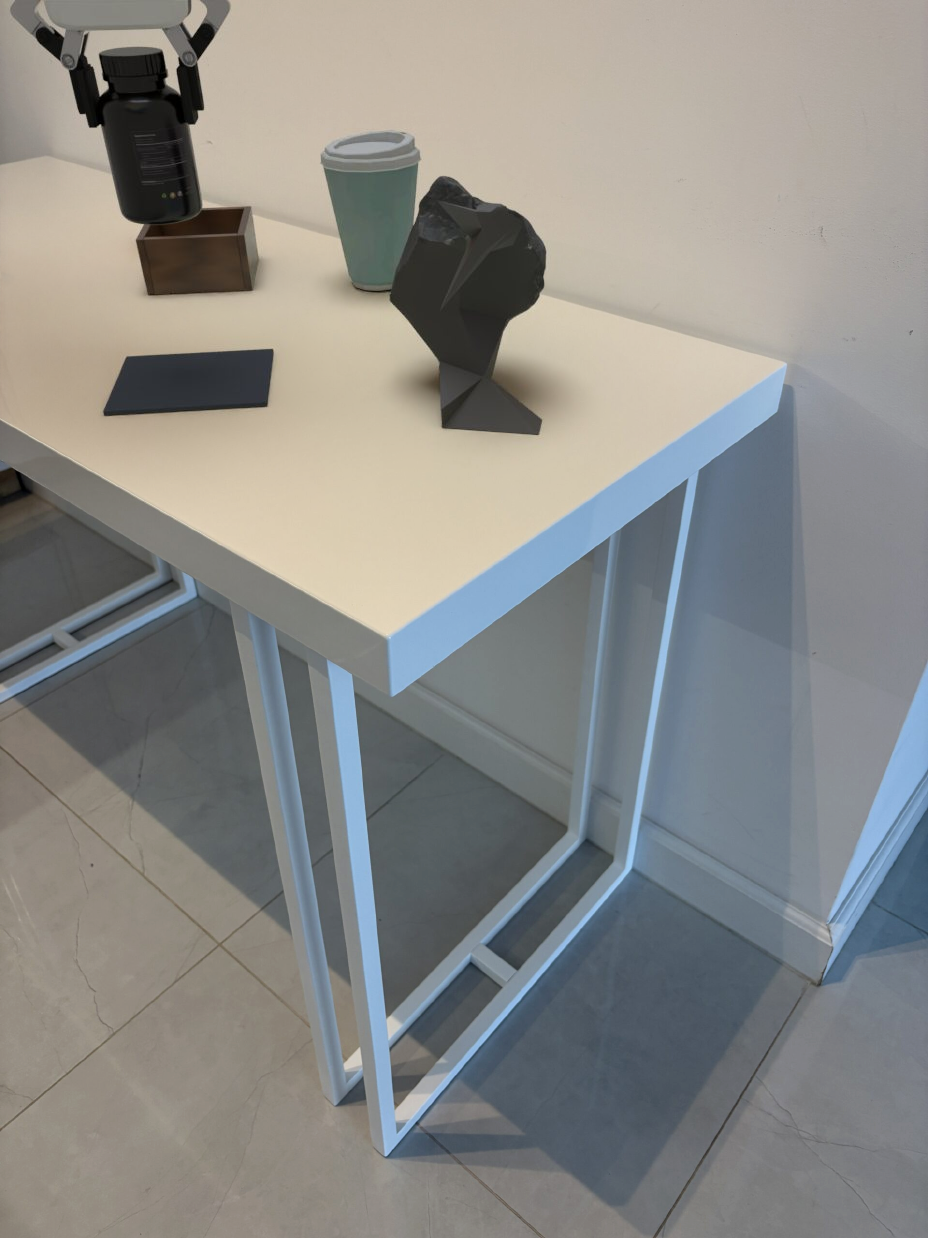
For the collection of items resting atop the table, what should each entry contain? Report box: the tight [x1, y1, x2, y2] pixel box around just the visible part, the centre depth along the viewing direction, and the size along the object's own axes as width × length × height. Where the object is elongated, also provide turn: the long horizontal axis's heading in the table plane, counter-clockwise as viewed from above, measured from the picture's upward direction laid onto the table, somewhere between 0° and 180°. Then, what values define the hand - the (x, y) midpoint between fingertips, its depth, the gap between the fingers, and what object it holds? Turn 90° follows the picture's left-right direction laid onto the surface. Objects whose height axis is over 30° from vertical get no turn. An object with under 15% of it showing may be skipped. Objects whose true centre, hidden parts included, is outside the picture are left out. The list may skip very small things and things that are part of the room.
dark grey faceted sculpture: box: [389, 175, 547, 435], centre depth 79 cm, size 14×15×18 cm
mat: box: [102, 348, 274, 416], centre depth 86 cm, size 14×12×1 cm
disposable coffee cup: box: [320, 129, 422, 292], centre depth 102 cm, size 11×11×15 cm
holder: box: [135, 205, 260, 296], centre depth 107 cm, size 12×12×6 cm
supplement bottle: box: [97, 46, 204, 225], centre depth 75 cm, size 7×7×12 cm
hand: (144, 120), depth 75 cm, fingers closed on supplement bottle, 6 cm apart
